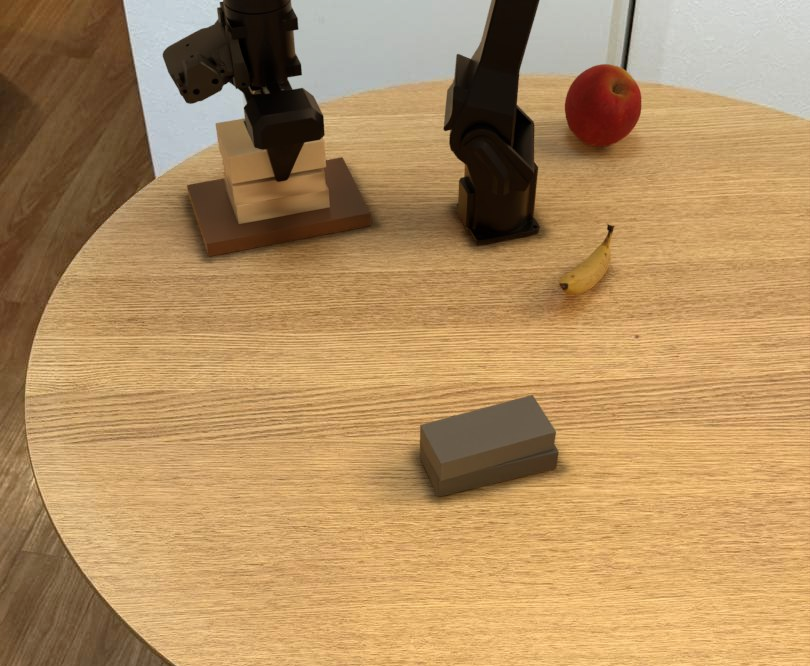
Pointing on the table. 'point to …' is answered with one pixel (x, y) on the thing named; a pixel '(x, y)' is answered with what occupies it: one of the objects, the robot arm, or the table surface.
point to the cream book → (259, 154)
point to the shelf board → (279, 227)
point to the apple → (603, 105)
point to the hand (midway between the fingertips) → (273, 161)
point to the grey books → (488, 446)
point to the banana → (588, 269)
